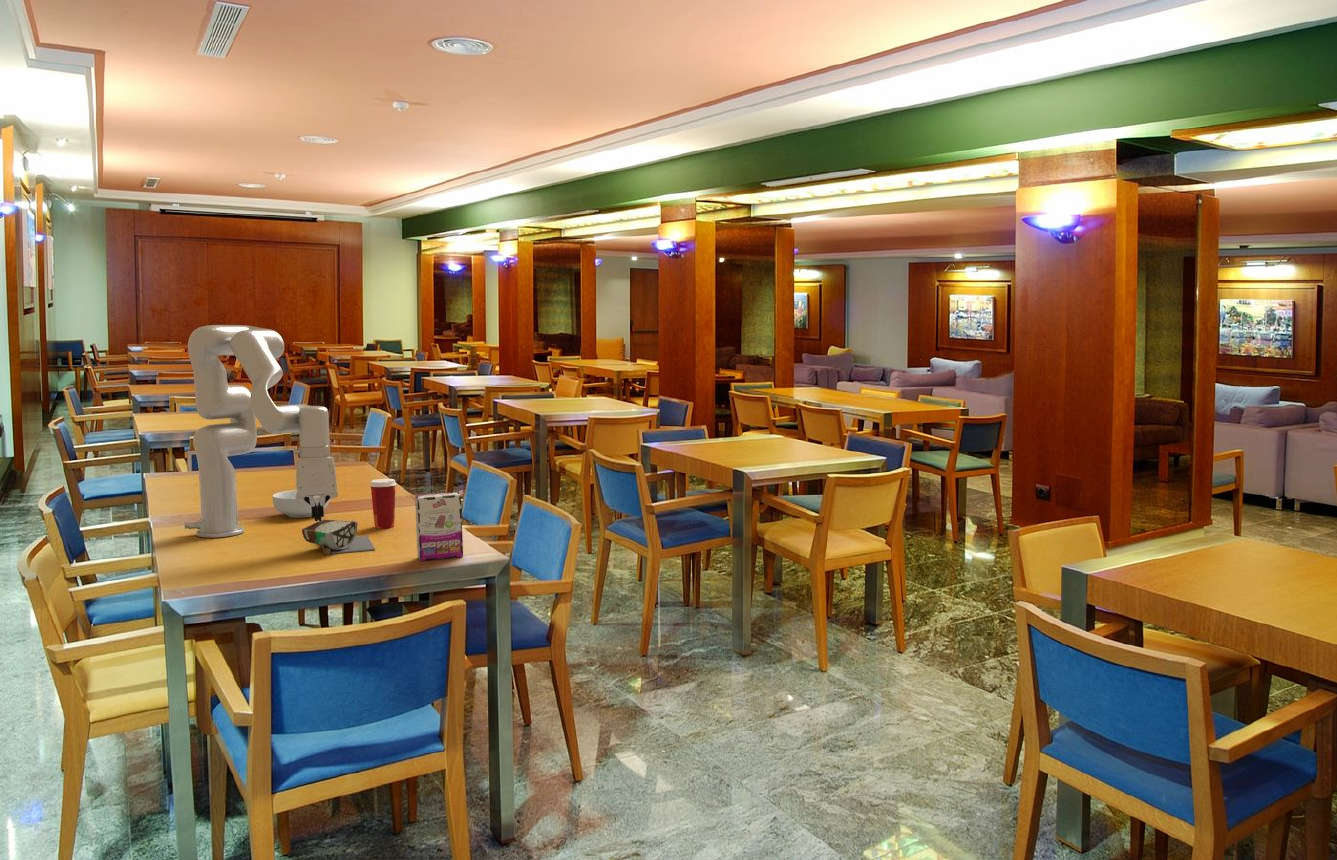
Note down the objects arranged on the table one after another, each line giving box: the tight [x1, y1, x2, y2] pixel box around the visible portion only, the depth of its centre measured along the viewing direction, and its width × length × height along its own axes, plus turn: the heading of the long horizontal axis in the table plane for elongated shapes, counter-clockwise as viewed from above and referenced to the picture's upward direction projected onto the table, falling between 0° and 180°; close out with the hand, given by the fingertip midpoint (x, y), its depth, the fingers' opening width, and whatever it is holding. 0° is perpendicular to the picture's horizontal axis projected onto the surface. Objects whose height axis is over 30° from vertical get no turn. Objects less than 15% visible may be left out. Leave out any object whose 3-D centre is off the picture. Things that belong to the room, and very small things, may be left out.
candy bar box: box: [414, 492, 464, 562], centre depth 251 cm, size 11×5×16 cm, turn 114°
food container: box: [301, 518, 359, 550], centre depth 260 cm, size 12×6×10 cm
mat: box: [330, 535, 376, 555], centre depth 266 cm, size 11×18×1 cm, turn 23°
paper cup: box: [369, 478, 397, 530], centre depth 290 cm, size 8×8×14 cm
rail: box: [320, 545, 331, 556], centre depth 263 cm, size 2×18×2 cm, turn 23°
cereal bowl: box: [271, 489, 330, 519], centre depth 308 cm, size 17×17×7 cm
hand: (317, 520), depth 262 cm, fingers closed
